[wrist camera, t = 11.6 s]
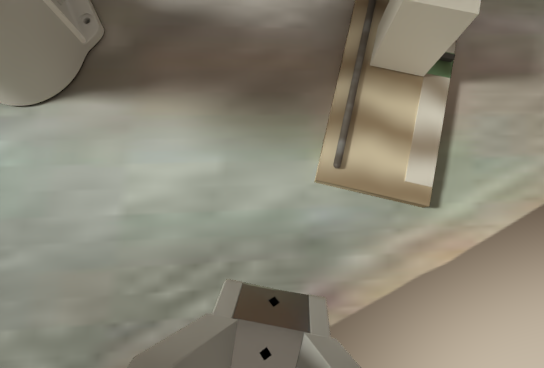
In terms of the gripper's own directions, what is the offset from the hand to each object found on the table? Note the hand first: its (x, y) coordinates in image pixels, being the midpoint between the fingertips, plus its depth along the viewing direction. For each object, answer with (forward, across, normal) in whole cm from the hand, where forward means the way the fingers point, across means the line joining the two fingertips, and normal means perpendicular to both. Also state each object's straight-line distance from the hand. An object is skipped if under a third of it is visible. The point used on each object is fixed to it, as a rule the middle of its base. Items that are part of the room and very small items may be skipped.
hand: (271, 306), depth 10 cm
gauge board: (+32, -10, -8) cm, 34 cm away
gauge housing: (+32, -11, -12) cm, 36 cm away
